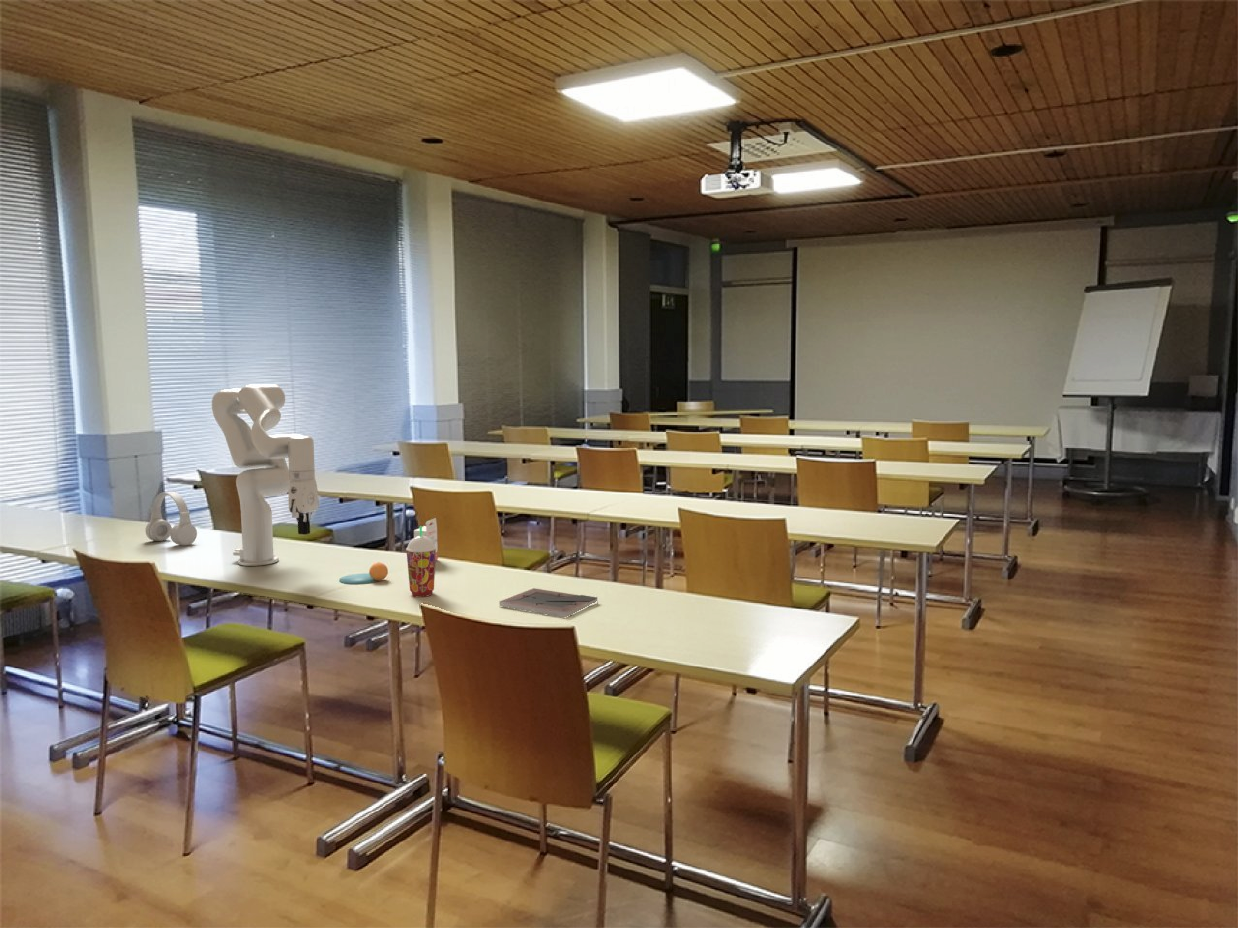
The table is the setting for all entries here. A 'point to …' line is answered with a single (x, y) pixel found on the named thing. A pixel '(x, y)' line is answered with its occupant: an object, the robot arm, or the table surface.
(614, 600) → the table surface
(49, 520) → the table surface
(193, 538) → the headphones
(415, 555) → the smoothie
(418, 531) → the ink cartridge box
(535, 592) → the grey flat slab
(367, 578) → the disc
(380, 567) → the ball
